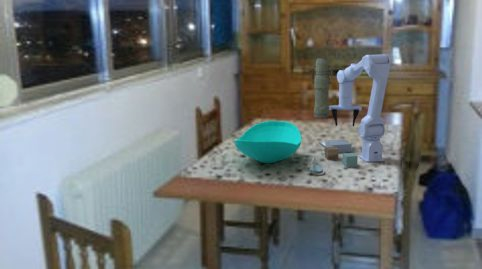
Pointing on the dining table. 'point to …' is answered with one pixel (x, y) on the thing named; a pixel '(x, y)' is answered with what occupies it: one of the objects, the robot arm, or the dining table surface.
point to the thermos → (321, 87)
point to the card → (322, 144)
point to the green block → (350, 160)
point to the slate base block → (339, 145)
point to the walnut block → (331, 153)
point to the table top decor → (270, 141)
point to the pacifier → (316, 168)
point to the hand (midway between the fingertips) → (344, 125)
